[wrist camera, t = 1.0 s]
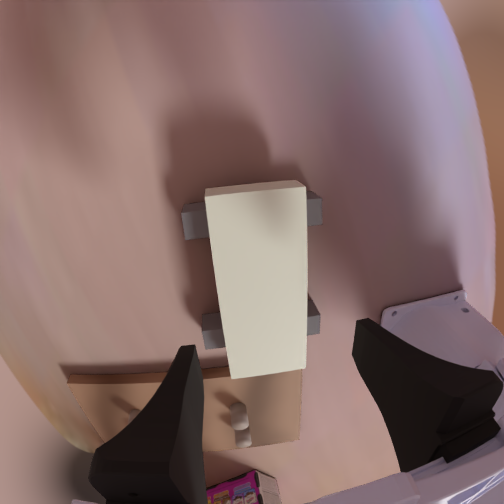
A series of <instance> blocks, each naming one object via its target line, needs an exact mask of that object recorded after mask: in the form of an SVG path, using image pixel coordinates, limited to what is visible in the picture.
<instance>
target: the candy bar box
mask: <svg viewBox="0 0 504 504" xmlns="http://www.w3.org/2000/svg"><path fill="white" fill-rule="evenodd" d="M206 491H207V499H208V504H282V502H281V497H280V493H279V489H278V485H277V480H276V479H275V478H273V477H271V476H269V475H266V474H263V473H261V472H259V471H257V470H253V471H251V472H248V473H246V474H243V475H241V476H239V477H236V478H234V479H231V480H229V481H226V482H223V483H221V484H218V485H216V486H213V487H210V488H207V489H206Z"/></svg>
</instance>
